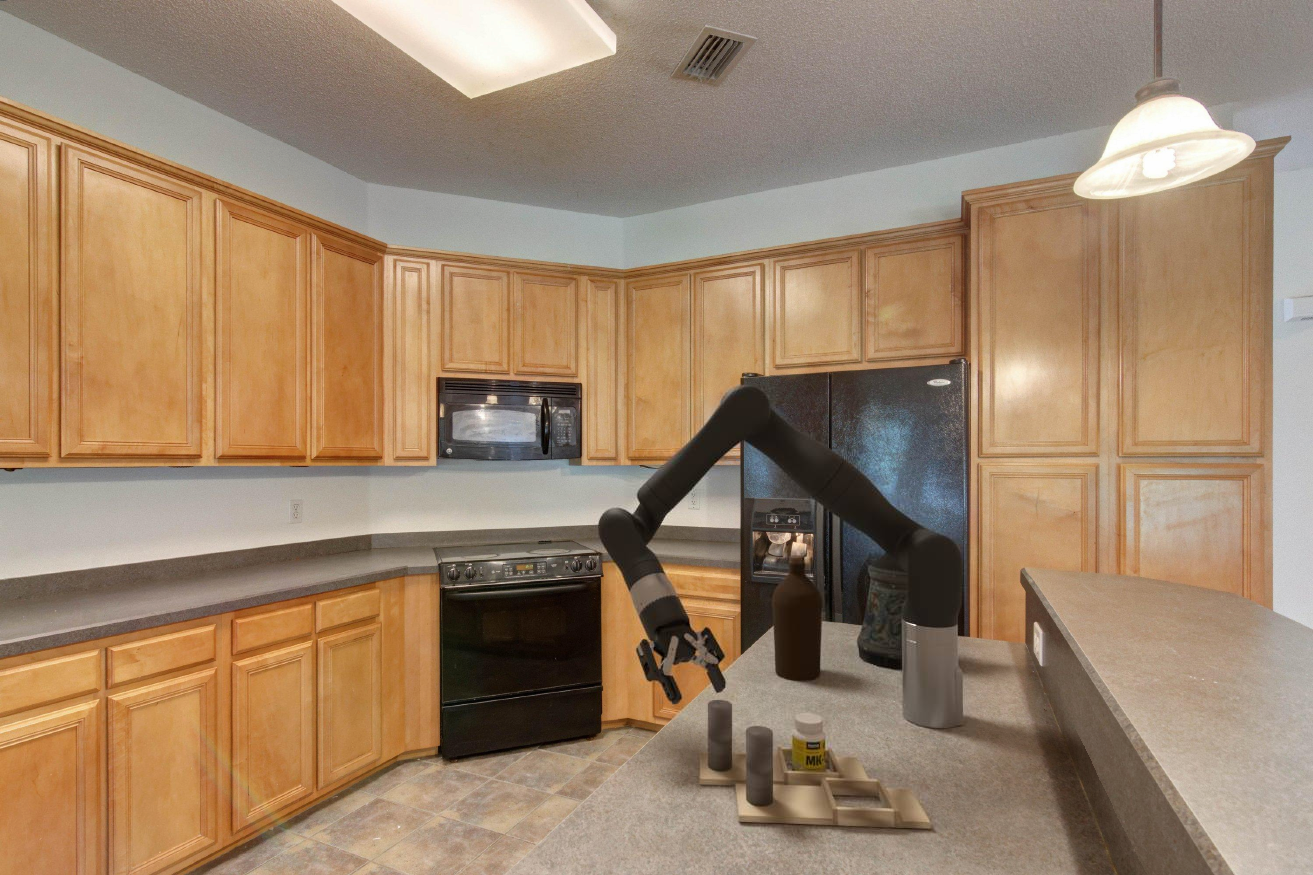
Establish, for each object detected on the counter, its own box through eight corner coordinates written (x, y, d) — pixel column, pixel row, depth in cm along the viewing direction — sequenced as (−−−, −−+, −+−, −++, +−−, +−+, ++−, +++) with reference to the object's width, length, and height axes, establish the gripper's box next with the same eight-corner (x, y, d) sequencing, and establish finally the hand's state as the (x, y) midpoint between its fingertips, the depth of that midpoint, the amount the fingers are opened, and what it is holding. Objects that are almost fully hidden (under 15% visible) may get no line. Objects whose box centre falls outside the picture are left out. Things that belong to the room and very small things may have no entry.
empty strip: (910, 794, 90) (909, 723, 90) (930, 828, 82) (930, 749, 82) (735, 788, 91) (735, 718, 91) (738, 821, 83) (738, 744, 83)
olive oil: (784, 684, 133) (784, 561, 133) (764, 667, 143) (764, 553, 144) (832, 680, 135) (831, 559, 136) (809, 663, 145) (808, 551, 146)
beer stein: (842, 651, 154) (842, 546, 155) (911, 644, 160) (910, 542, 161) (887, 674, 138) (886, 556, 139) (961, 665, 144) (960, 552, 145)
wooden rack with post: (857, 762, 99) (857, 697, 99) (871, 789, 91) (870, 719, 91) (699, 757, 100) (699, 693, 101) (699, 784, 92) (699, 714, 93)
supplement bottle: (806, 786, 92) (806, 726, 92) (785, 771, 96) (785, 714, 97) (832, 778, 94) (832, 720, 95) (810, 764, 99) (810, 709, 99)
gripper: (631, 599, 104) (672, 693, 94) (701, 588, 112) (746, 674, 102) (614, 625, 108) (652, 717, 99) (683, 613, 116) (724, 697, 107)
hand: (700, 695), depth 100 cm, fingers open, 8 cm apart
